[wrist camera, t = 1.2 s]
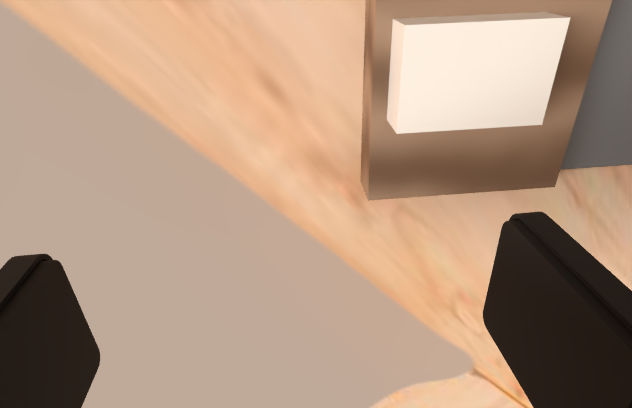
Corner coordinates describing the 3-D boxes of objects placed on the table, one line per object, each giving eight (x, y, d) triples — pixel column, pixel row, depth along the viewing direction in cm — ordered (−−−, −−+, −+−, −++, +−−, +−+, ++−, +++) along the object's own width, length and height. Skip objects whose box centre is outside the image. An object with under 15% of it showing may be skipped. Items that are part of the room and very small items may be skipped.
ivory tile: (392, 18, 24) (404, 25, 21) (544, 11, 24) (570, 17, 22) (386, 119, 27) (396, 133, 25) (520, 111, 27) (542, 124, 25)
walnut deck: (368, -105, 23) (381, -113, 20) (608, -112, 24) (648, -120, 21) (360, 180, 32) (368, 200, 30) (532, 168, 33) (554, 186, 31)
